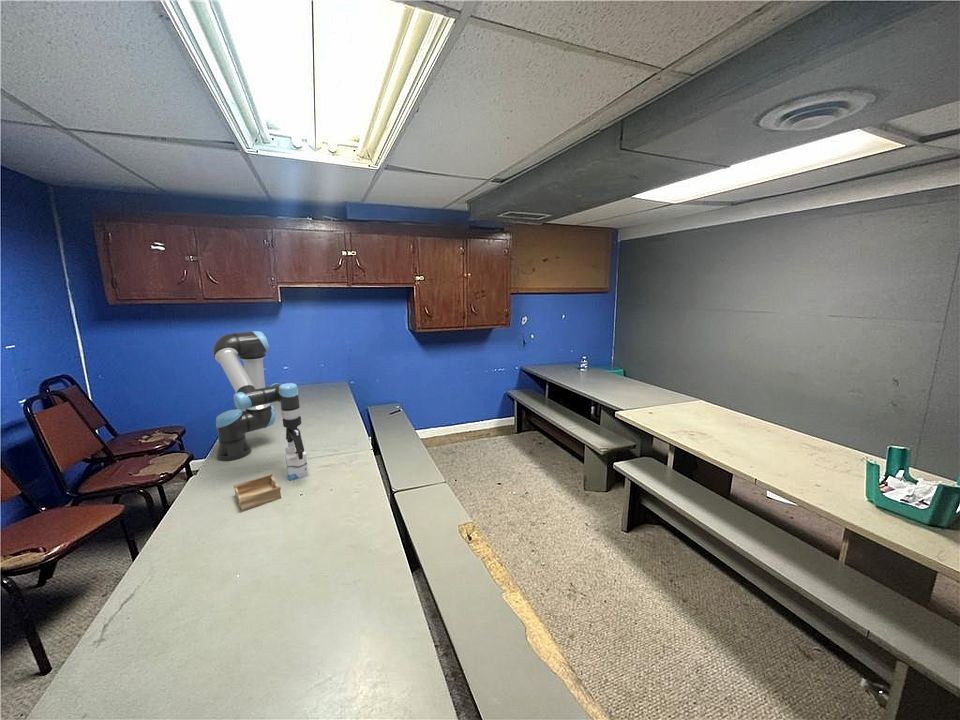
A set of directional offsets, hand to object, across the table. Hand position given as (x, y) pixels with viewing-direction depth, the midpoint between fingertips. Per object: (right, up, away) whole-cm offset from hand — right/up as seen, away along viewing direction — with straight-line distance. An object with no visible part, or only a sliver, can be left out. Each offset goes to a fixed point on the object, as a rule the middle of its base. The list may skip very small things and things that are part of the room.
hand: (296, 459), depth 172 cm
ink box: (0, -9, +2) cm, 9 cm away
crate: (-9, -12, -15) cm, 21 cm away
